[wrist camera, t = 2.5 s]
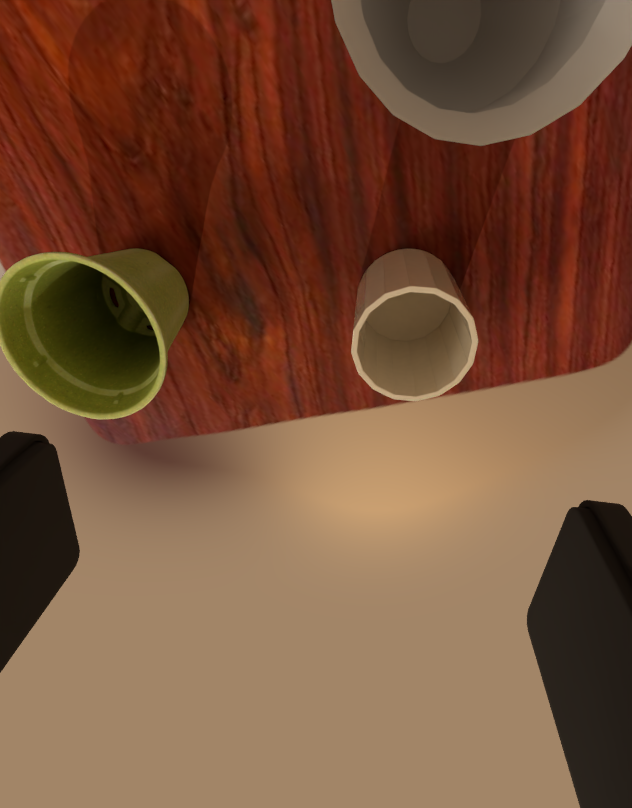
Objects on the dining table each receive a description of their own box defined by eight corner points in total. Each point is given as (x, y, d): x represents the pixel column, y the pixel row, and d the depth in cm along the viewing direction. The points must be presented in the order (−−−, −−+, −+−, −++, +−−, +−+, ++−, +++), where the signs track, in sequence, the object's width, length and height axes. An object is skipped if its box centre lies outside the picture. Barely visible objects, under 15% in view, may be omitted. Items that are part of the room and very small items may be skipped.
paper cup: (362, 244, 30) (357, 281, 23) (464, 252, 30) (489, 292, 23) (353, 337, 33) (347, 394, 27) (445, 346, 33) (463, 406, 26)
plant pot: (108, 363, 37) (39, 426, 29) (55, 232, 32) (-43, 267, 25) (228, 349, 35) (187, 412, 27) (189, 209, 30) (128, 239, 23)
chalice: (505, 98, 26) (698, 66, 10) (381, 151, 28) (387, 192, 12) (472, -75, 23) (679, -491, 7) (335, -2, 25) (264, -208, 9)
